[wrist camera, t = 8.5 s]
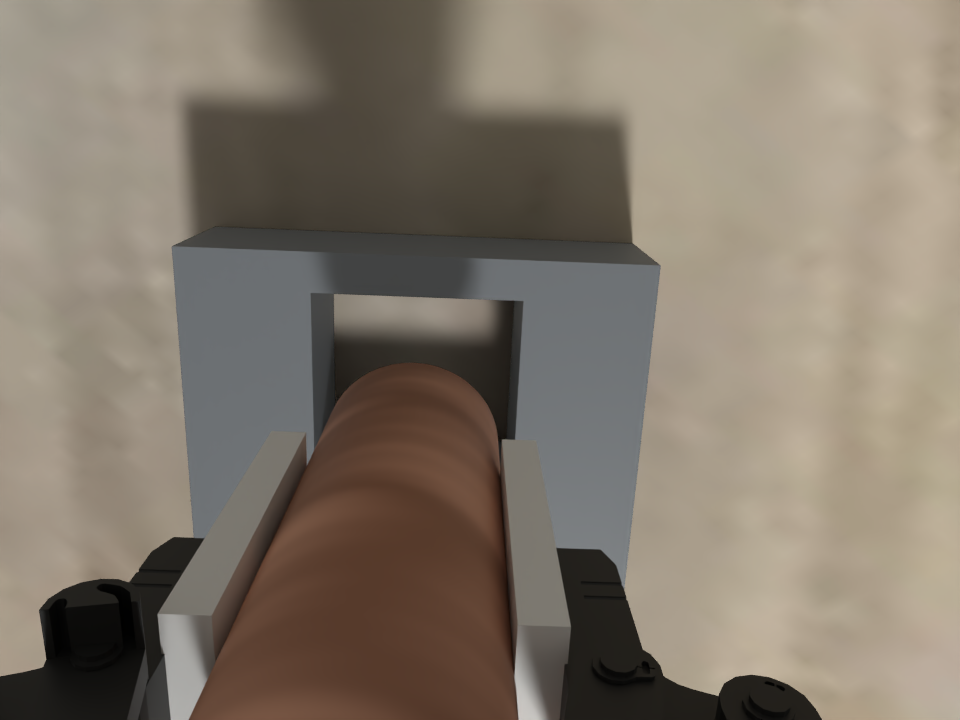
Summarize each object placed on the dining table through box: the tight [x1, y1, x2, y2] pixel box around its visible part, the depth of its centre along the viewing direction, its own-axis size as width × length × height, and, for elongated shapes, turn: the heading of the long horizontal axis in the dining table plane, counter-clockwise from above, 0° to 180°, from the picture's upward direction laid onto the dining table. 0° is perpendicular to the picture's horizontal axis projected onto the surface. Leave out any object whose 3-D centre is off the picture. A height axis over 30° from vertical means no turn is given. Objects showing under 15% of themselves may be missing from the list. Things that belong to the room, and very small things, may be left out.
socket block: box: [172, 227, 661, 588], centre depth 27 cm, size 14×18×4 cm
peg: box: [189, 363, 519, 720], centre depth 13 cm, size 4×4×14 cm
